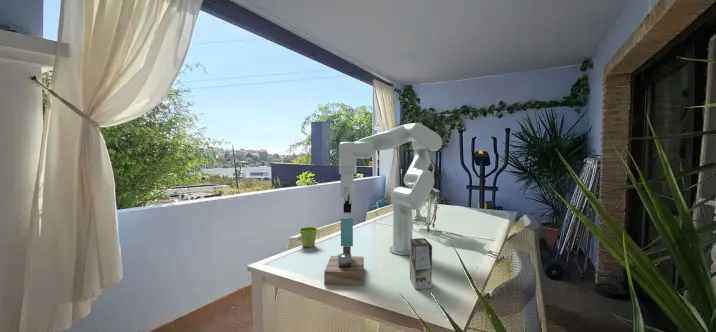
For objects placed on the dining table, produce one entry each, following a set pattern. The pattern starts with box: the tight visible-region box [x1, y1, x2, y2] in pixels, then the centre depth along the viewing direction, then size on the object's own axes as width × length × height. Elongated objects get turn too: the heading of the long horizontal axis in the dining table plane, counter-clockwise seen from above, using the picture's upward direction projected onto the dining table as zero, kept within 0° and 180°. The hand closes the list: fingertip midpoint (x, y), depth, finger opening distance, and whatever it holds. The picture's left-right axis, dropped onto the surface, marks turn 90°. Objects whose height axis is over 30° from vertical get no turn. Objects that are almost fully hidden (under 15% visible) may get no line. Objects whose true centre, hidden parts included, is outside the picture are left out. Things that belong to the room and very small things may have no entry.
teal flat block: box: [340, 217, 354, 247], centre depth 128 cm, size 12×5×1 cm
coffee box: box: [409, 237, 433, 290], centre depth 115 cm, size 9×6×16 cm
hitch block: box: [323, 246, 365, 286], centre depth 122 cm, size 16×14×10 cm
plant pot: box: [298, 226, 319, 248], centre depth 159 cm, size 9×9×9 cm
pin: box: [337, 252, 352, 268], centre depth 120 cm, size 5×5×9 cm
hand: (347, 212), depth 133 cm, fingers closed
